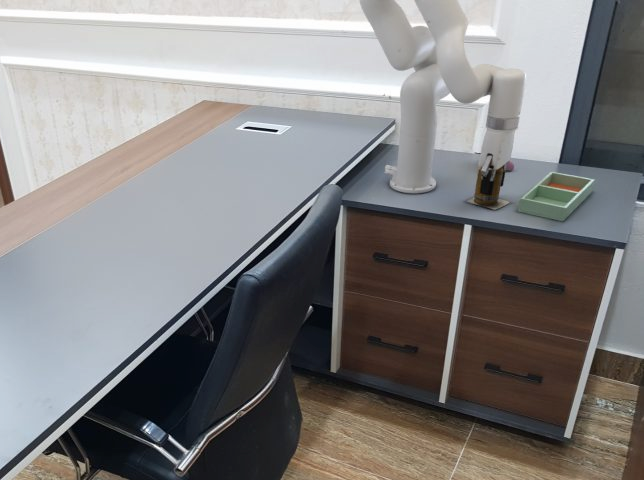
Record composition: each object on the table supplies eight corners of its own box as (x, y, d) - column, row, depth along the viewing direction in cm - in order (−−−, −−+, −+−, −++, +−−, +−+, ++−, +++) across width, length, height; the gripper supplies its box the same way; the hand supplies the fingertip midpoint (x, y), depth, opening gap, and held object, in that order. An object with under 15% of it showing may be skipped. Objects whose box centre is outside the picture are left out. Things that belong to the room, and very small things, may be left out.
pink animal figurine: (489, 165, 216) (482, 145, 213) (504, 157, 215) (497, 137, 212) (500, 177, 208) (492, 157, 205) (516, 169, 207) (508, 149, 203)
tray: (517, 211, 185) (520, 198, 183) (548, 183, 198) (551, 171, 196) (563, 221, 179) (566, 208, 177) (591, 192, 192) (595, 179, 190)
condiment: (482, 194, 196) (489, 151, 189) (510, 202, 190) (518, 158, 183) (466, 202, 192) (472, 158, 185) (494, 211, 186) (502, 166, 180)
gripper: (501, 110, 186) (490, 176, 196) (473, 129, 176) (463, 197, 186) (530, 114, 182) (518, 181, 192) (503, 134, 172) (491, 204, 182)
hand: (491, 189), depth 189 cm, fingers closed on condiment, 6 cm apart
